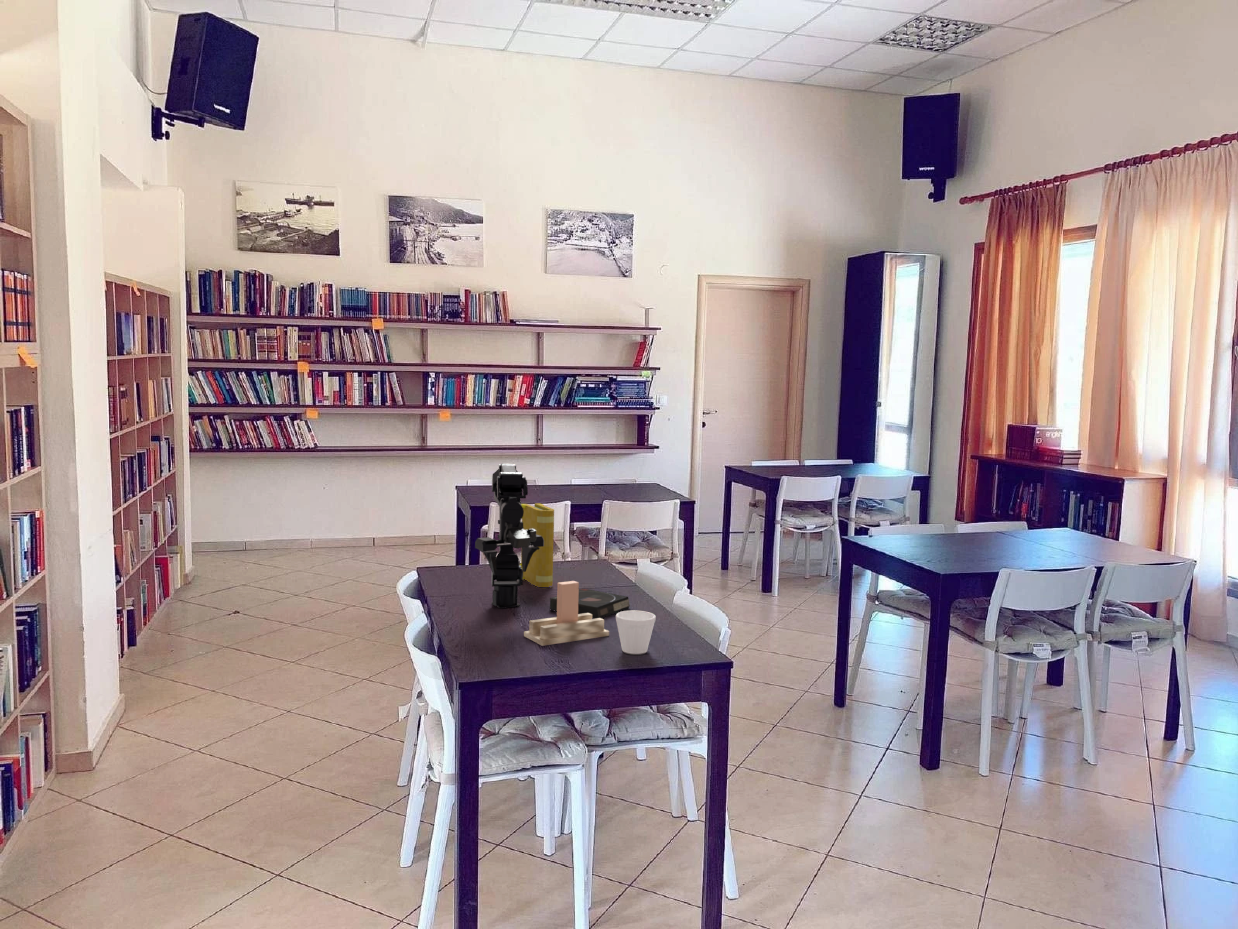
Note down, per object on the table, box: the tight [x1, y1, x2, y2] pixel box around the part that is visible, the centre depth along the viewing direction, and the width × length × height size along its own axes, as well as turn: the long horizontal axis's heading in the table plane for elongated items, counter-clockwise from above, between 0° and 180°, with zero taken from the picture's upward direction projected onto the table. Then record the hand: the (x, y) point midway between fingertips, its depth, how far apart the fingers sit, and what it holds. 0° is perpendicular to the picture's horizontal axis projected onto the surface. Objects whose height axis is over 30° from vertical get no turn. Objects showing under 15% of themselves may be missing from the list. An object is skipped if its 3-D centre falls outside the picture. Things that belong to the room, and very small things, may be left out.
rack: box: [523, 613, 610, 647], centre depth 244 cm, size 20×10×4 cm, turn 123°
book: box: [519, 503, 555, 587], centre depth 304 cm, size 17×7×25 cm, turn 25°
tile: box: [556, 580, 580, 624], centre depth 243 cm, size 2×5×13 cm, turn 124°
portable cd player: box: [549, 587, 631, 619], centre depth 272 cm, size 16×17×4 cm
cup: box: [615, 609, 657, 656], centre depth 231 cm, size 10×10×9 cm
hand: (509, 573), depth 258 cm, fingers open, 9 cm apart
